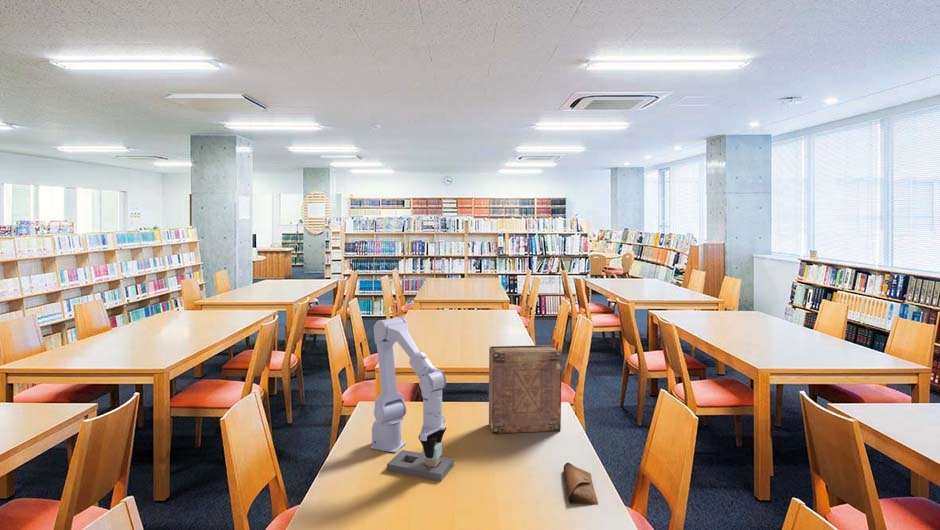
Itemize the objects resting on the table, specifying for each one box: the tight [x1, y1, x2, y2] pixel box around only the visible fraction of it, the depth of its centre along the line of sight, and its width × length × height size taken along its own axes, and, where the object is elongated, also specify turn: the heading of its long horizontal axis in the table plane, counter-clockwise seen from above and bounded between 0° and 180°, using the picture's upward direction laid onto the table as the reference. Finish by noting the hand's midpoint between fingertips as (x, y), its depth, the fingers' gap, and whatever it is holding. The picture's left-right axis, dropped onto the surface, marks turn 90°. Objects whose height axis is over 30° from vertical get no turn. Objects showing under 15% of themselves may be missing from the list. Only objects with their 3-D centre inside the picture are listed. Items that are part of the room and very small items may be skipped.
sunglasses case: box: [563, 462, 599, 506], centre depth 141 cm, size 18×7×7 cm, turn 174°
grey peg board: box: [386, 449, 455, 482], centre depth 151 cm, size 18×10×2 cm, turn 71°
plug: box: [422, 442, 443, 468], centre depth 150 cm, size 4×4×6 cm
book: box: [488, 344, 563, 435], centre depth 181 cm, size 25×9×30 cm, turn 97°
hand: (432, 453), depth 150 cm, fingers closed on plug, 4 cm apart
